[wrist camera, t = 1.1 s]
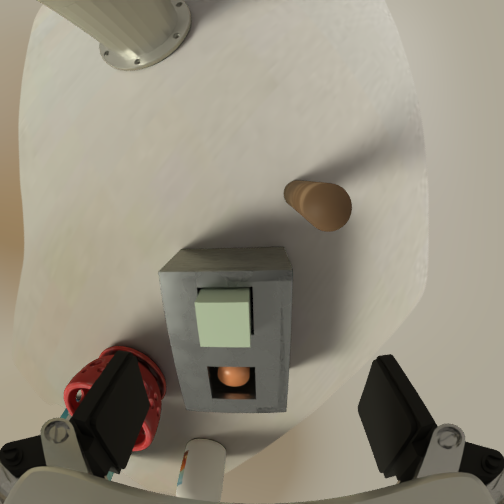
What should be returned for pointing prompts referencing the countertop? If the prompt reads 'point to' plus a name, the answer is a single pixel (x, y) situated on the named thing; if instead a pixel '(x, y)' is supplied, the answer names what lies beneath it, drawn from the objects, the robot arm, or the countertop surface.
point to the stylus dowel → (319, 203)
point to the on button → (224, 316)
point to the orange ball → (234, 375)
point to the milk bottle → (202, 471)
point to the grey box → (256, 356)
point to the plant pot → (151, 381)
